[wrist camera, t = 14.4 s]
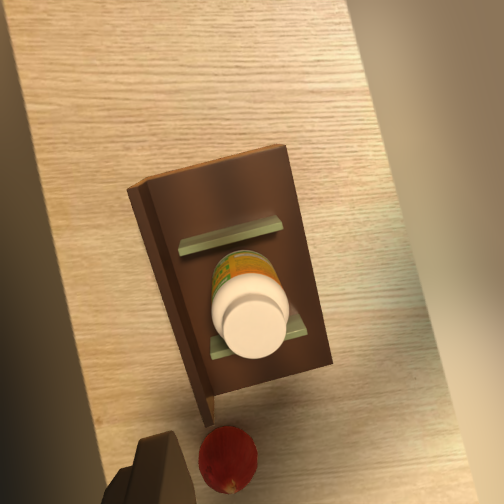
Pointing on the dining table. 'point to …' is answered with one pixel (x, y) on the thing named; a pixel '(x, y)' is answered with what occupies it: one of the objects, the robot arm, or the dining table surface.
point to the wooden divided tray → (216, 248)
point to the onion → (227, 459)
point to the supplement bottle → (249, 304)
